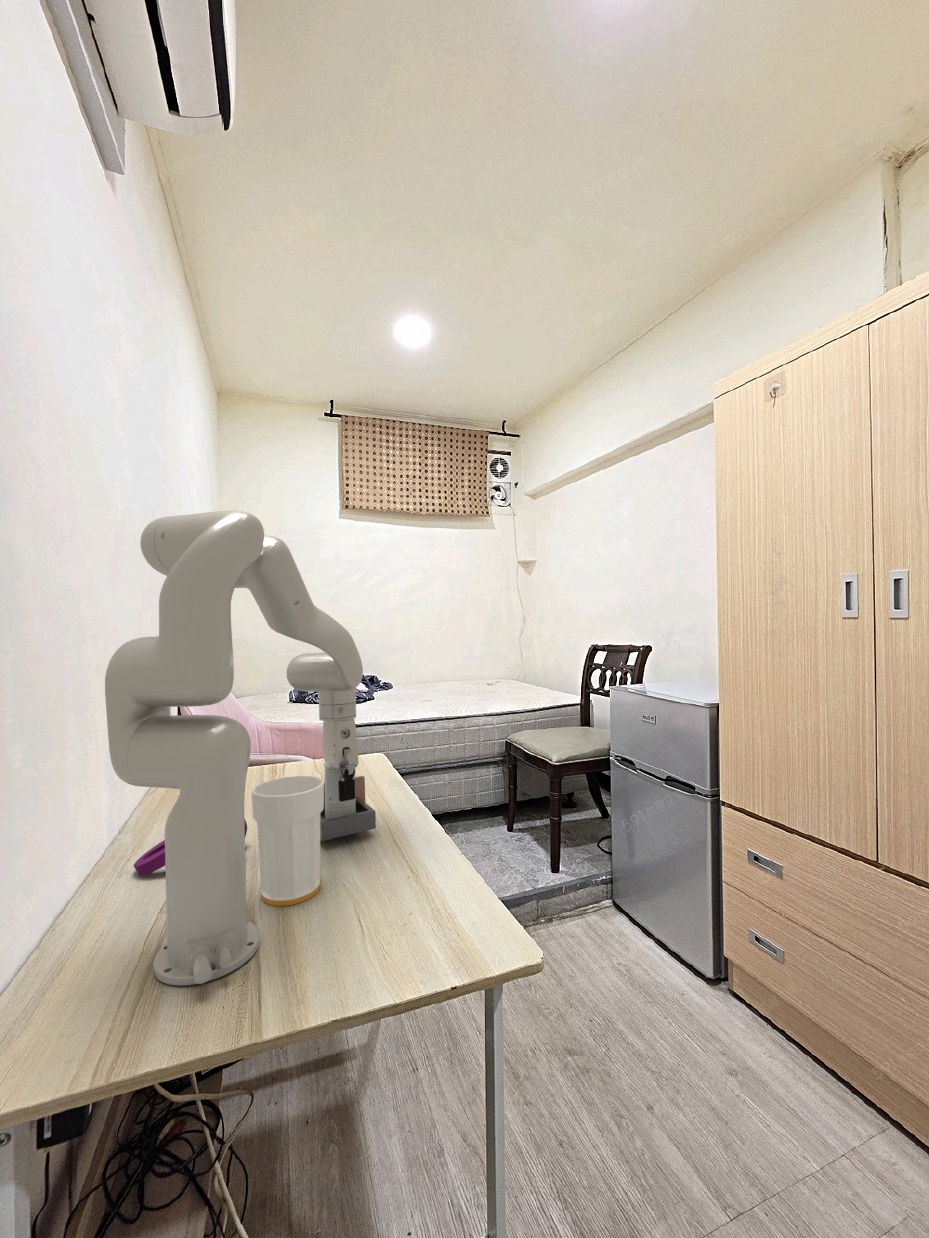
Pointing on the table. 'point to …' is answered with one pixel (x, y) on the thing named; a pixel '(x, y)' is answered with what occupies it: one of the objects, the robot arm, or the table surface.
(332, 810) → the skincare box
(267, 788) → the cup
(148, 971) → the table surface
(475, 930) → the table surface
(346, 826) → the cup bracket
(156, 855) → the mounting bracket
